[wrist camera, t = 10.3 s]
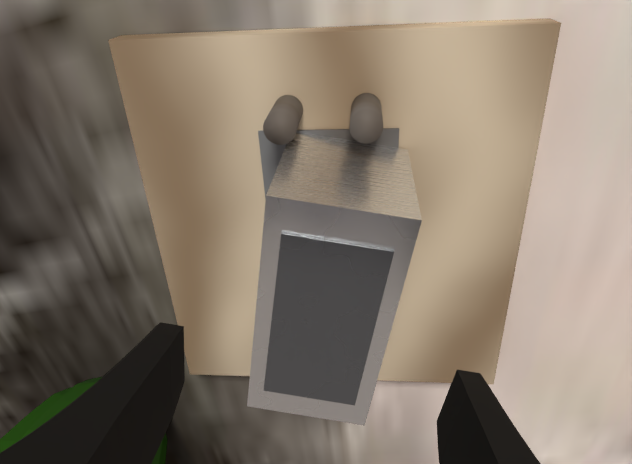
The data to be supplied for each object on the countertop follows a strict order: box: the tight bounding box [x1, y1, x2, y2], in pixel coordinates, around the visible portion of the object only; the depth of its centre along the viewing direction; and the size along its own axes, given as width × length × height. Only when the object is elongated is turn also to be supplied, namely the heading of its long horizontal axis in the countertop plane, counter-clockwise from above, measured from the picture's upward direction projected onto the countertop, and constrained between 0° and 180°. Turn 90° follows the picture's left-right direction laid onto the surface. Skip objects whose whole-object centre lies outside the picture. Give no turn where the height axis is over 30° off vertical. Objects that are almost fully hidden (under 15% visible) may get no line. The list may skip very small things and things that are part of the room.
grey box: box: [247, 132, 422, 425], centre depth 17 cm, size 4×8×5 cm, turn 172°
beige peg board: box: [108, 19, 561, 384], centre depth 19 cm, size 14×15×3 cm
